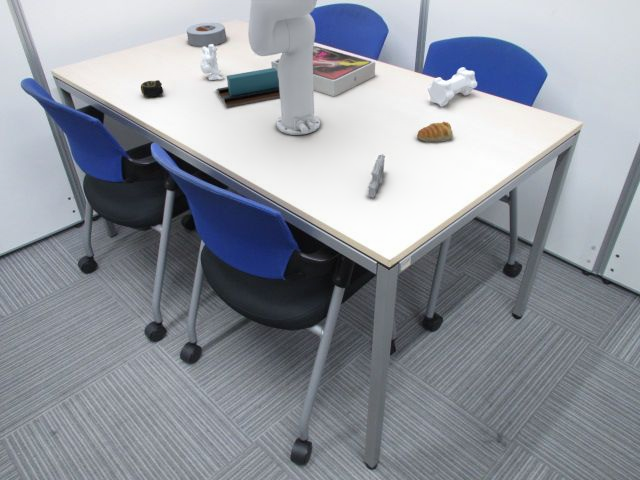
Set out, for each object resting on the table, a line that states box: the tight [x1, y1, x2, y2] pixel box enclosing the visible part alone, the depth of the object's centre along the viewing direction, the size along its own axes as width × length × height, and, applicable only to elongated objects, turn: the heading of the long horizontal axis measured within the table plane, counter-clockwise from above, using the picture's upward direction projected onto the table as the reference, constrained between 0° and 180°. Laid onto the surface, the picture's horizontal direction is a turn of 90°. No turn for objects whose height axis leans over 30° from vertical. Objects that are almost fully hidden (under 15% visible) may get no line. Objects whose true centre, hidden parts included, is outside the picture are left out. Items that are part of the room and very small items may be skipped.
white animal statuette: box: [199, 44, 223, 81], centre depth 182 cm, size 8×7×12 cm
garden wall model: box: [367, 153, 386, 199], centre depth 127 cm, size 12×2×6 cm, turn 163°
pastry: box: [416, 121, 454, 143], centre depth 146 cm, size 9×7×4 cm
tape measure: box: [140, 79, 164, 98], centre depth 175 cm, size 7×7×4 cm
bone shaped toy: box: [427, 66, 478, 107], centre depth 164 cm, size 15×9×8 cm, turn 131°
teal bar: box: [226, 67, 279, 96], centre depth 172 cm, size 16×3×6 cm, turn 112°
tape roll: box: [186, 22, 227, 48], centre depth 216 cm, size 15×15×5 cm
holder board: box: [215, 78, 280, 109], centre depth 174 cm, size 14×22×2 cm, turn 112°
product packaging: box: [270, 44, 376, 97], centre depth 183 cm, size 22×28×5 cm
